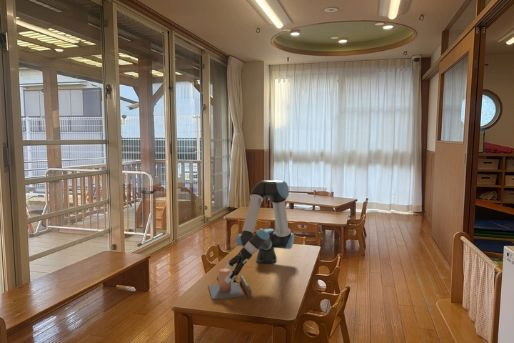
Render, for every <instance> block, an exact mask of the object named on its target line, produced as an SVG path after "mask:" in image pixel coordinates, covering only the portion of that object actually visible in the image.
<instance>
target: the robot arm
mask: <svg viewBox="0 0 514 343" xmlns="http://www.w3.org/2000/svg"><path fill="white" fill-rule="evenodd" d="M289 190H290V189H289V185H288V183H287V182H286V181H285V180H280V179H279V180H270V179H269V180H267V179H264V180H263V179H262V180H261V181H259V182H257V183H256V184H255V185H254V187H253V188H252V190H251V191H250V194H249V198H250V201H249V204H248V208H247V212H246V215H245V219H244V223H243V227H242V232H241V233H239V234H237V235H236V240H235V244H236V245H237V246H239V247H242V248H241V249H240V250H239V252H238V253H237V254H236V255H235V256H234V257H232V258H231V259H229V261H228V264H227V265H226V266H225V267H224V268H223V269H230V270H231V269H232V268H233V267H234V265H235V267H234V269H233V270H231V271H232V272H231V273H230V274H229V276H228V277H227V278H226V279H225V280H224V281H225V282H227V283H229V282H230V281H231V280H232V278H233V277H234V276H235V275H237V276H239V275H240V273H241V272H242V270H243V268H244V266H245V265H246V263H247V260H250V259H251V258H252V257H253V255H255V253H257V254H256V257H255V259H256V262H257V263H259V264H267V265H268V264H273V263H276V262H277V254H276V251H275V249H284V250H290V249H292V248H293V246H294V241H295V233H293V232H292V230H291V229H290V228H289V222H288V217H287V216H288V215H287V214H288V213H287V209H286V208H287V207H286V201H287V198H288V197H289V192H290V191H289ZM265 198H269V201H270V202H271V203H272V209H273V215H274V221H275V222H274V223H275V229H274V228H265V229H263V228H262V227H261V228H259V229H258V230H257V231H256V232H255V229H256V226H257V221H258V217H259V212H260V209H261V205H262V202H263V201H264V199H265ZM254 232H255V233H254ZM239 272H240V273H239Z"/></svg>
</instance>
